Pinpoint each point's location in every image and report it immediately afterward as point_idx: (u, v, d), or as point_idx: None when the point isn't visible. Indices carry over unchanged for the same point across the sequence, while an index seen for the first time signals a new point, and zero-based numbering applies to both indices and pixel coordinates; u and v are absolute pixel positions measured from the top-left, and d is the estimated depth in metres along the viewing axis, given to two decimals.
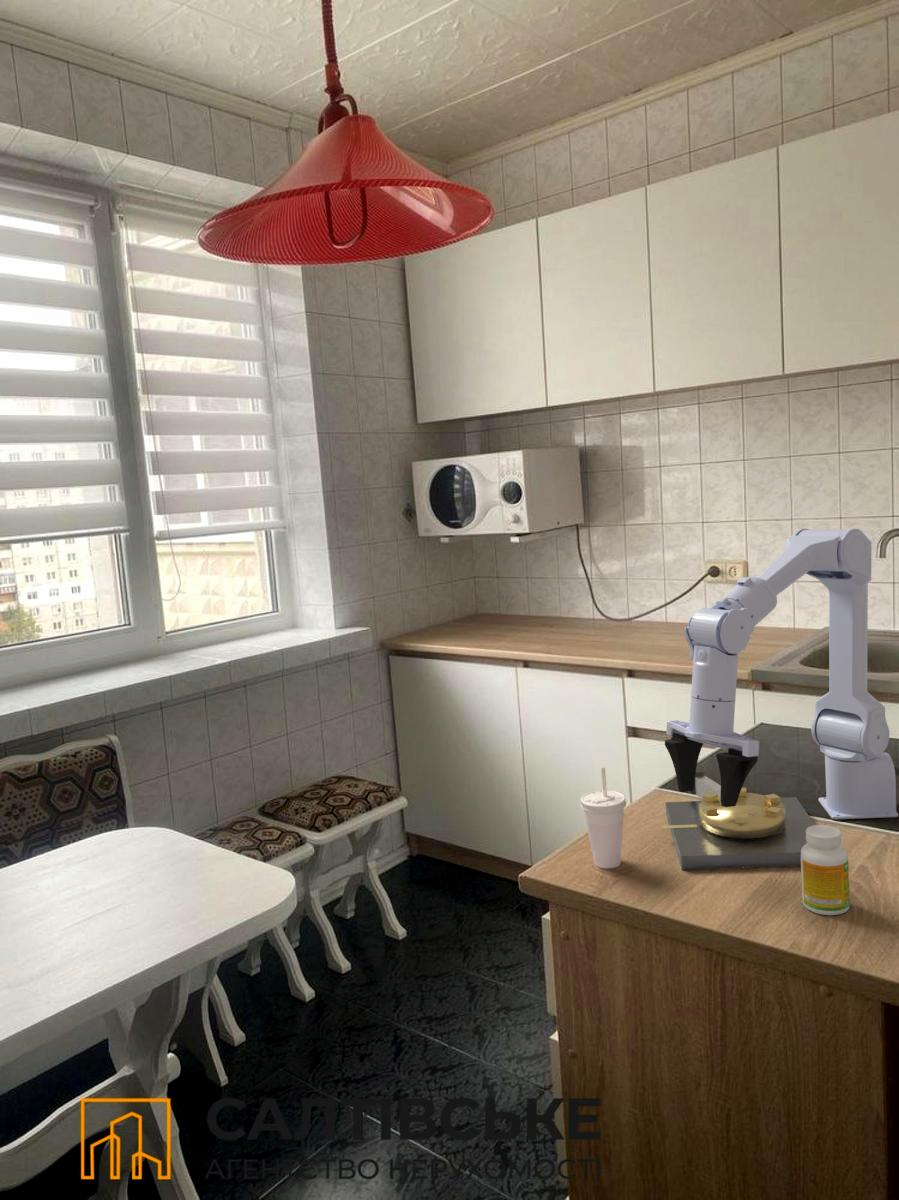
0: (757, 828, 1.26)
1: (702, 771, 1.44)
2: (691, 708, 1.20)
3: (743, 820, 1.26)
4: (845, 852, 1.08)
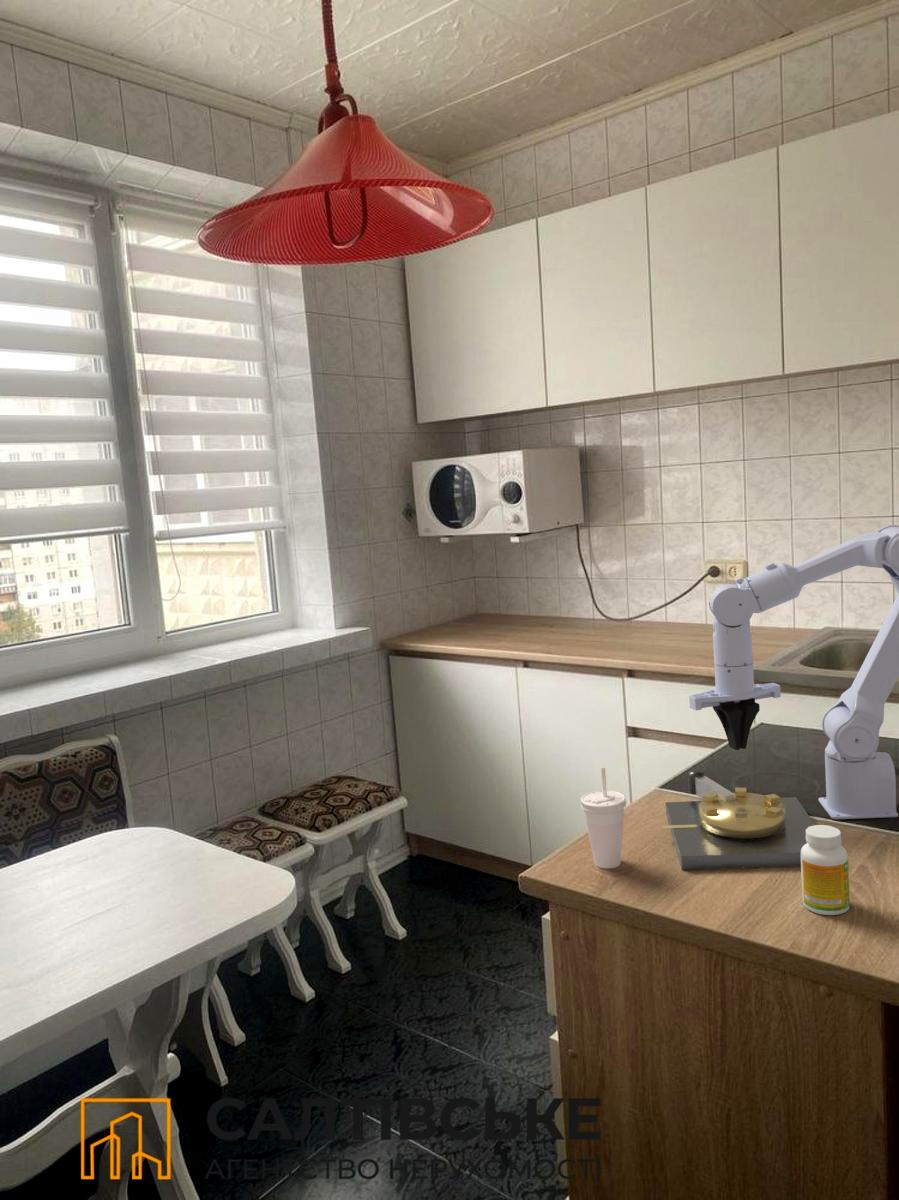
0: (757, 828, 1.26)
1: (702, 771, 1.44)
2: None
3: (743, 820, 1.26)
4: (845, 852, 1.08)
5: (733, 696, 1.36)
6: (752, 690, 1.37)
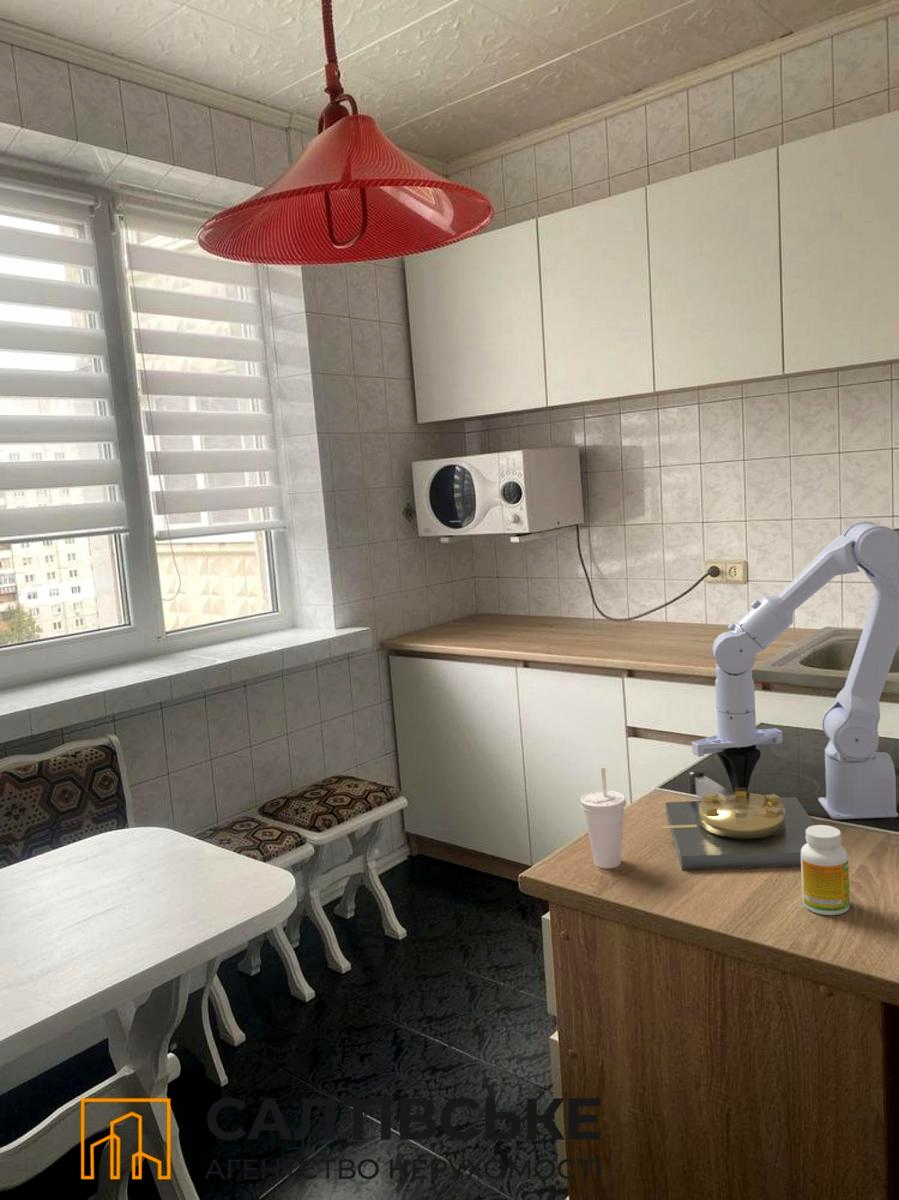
0: (757, 828, 1.26)
1: (702, 771, 1.44)
2: None
3: (743, 820, 1.26)
4: (845, 852, 1.08)
5: (735, 743, 1.37)
6: (754, 737, 1.38)
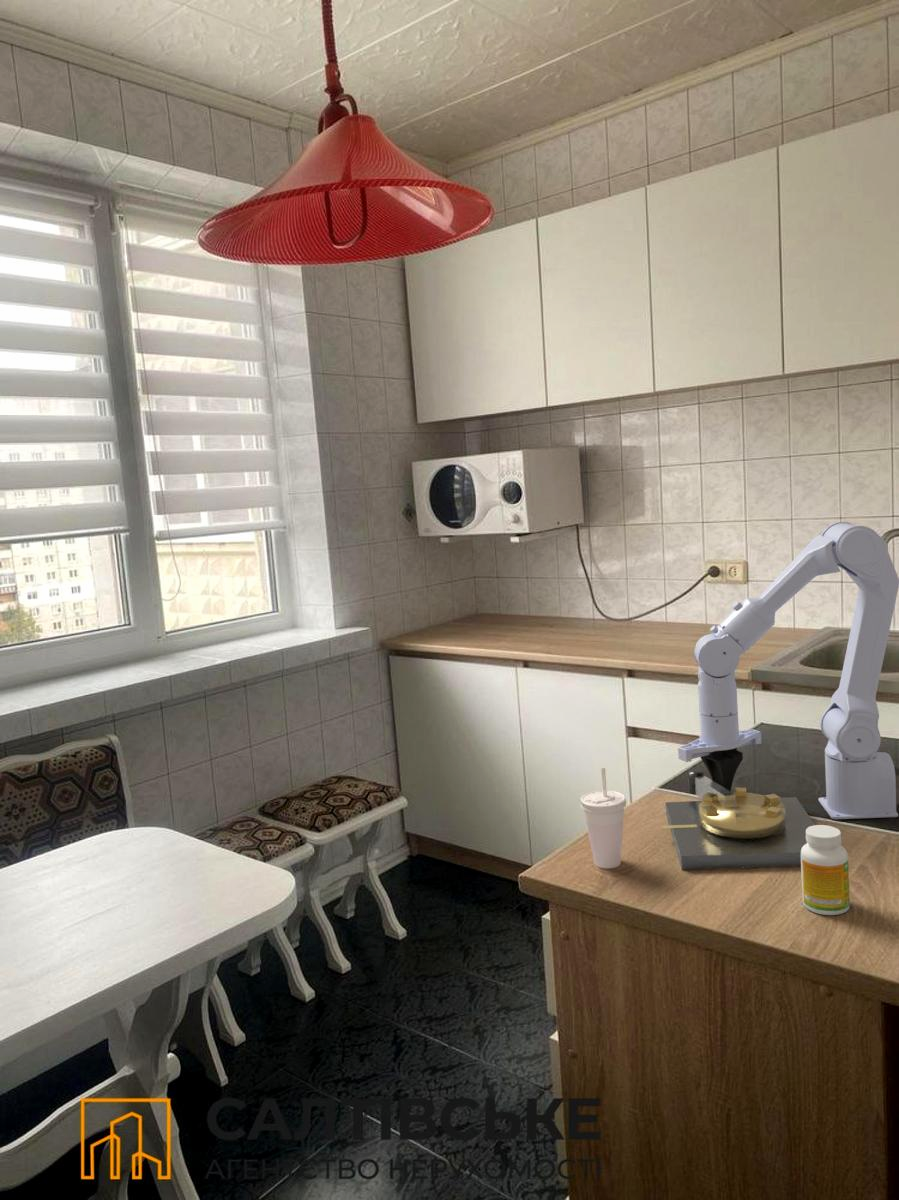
0: (757, 828, 1.26)
1: (702, 771, 1.44)
2: None
3: (743, 820, 1.26)
4: (845, 852, 1.08)
5: (722, 746, 1.36)
6: (738, 739, 1.38)
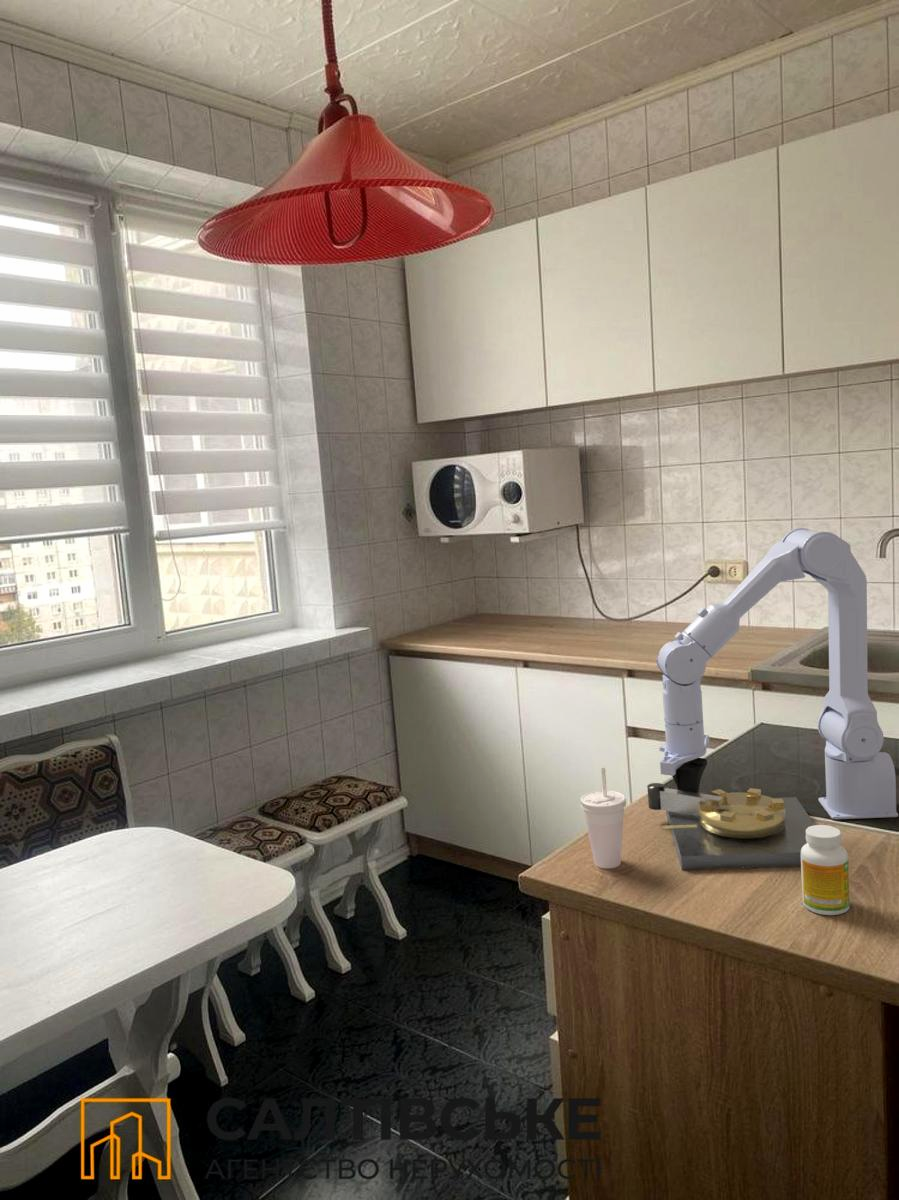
0: (779, 822, 1.27)
1: (660, 784, 1.40)
2: None
3: (770, 817, 1.26)
4: (845, 852, 1.08)
5: (697, 754, 1.34)
6: None
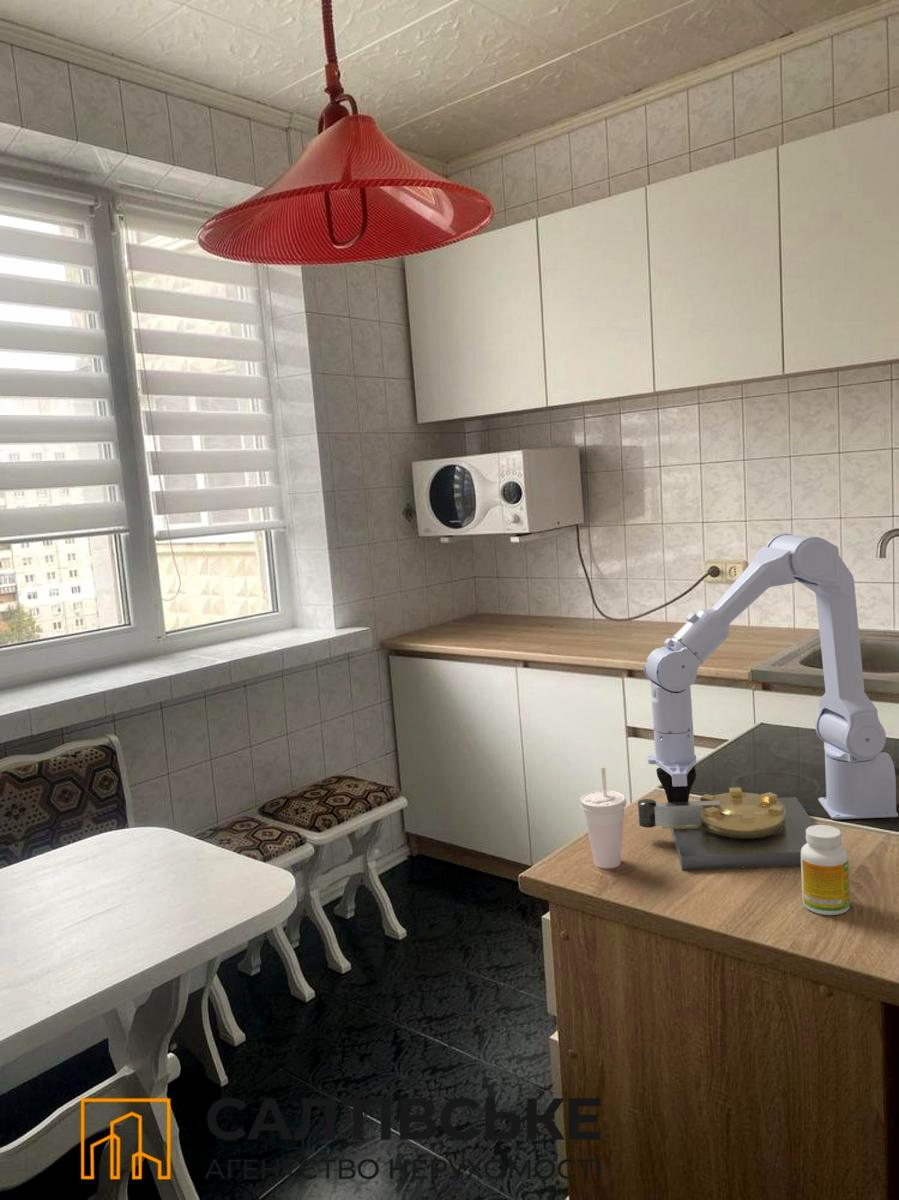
0: None
1: (649, 800, 1.34)
2: None
3: (782, 810, 1.28)
4: (845, 852, 1.08)
5: (694, 760, 1.31)
6: None
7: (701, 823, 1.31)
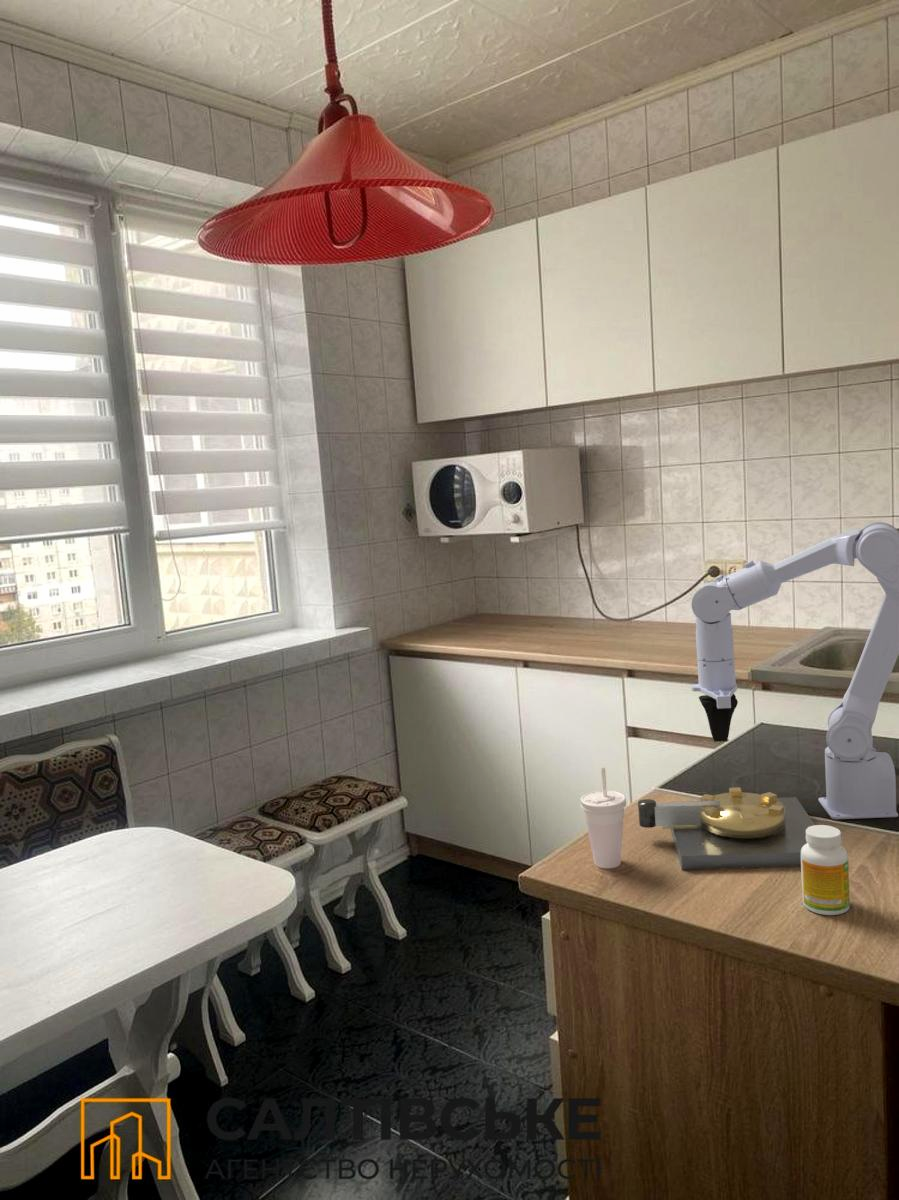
0: None
1: (649, 800, 1.34)
2: None
3: (782, 810, 1.28)
4: (845, 852, 1.08)
5: (735, 687, 1.42)
6: None
7: (701, 823, 1.31)
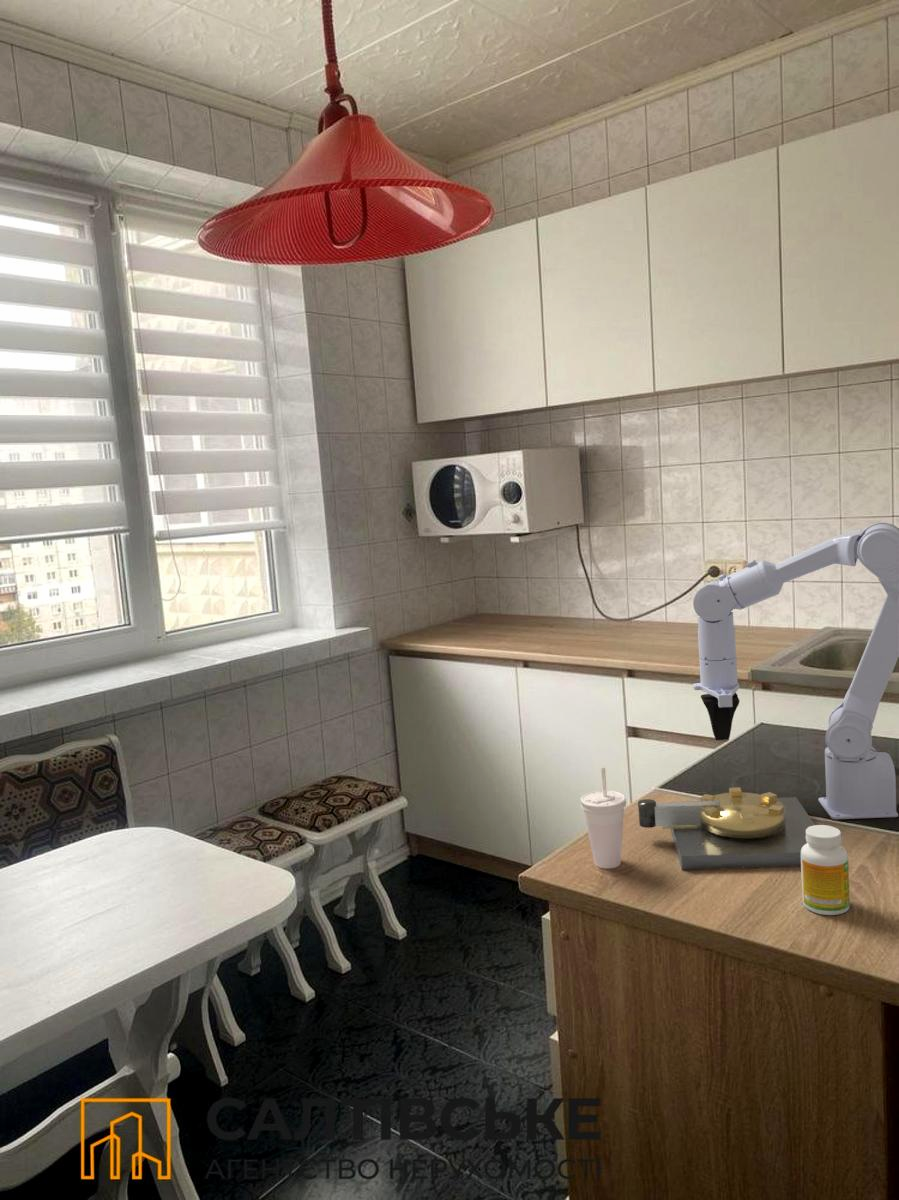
0: None
1: (649, 800, 1.34)
2: None
3: (782, 810, 1.28)
4: (845, 852, 1.08)
5: (737, 686, 1.42)
6: None
7: (701, 823, 1.31)
